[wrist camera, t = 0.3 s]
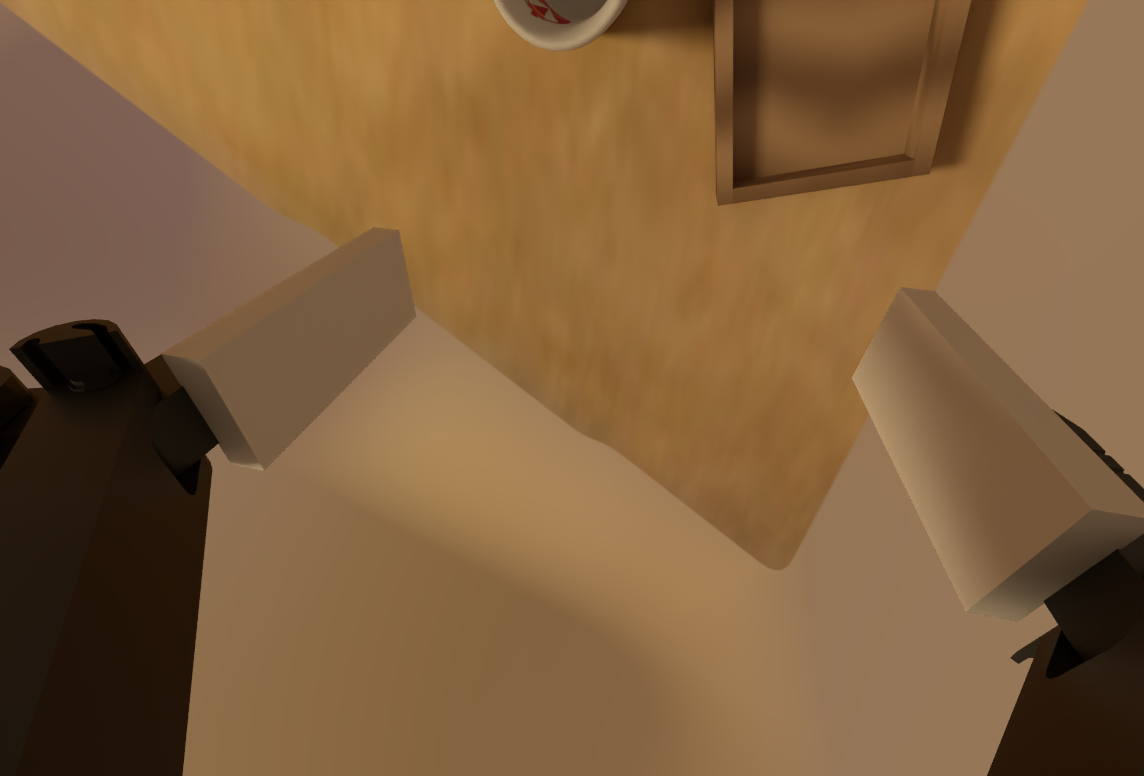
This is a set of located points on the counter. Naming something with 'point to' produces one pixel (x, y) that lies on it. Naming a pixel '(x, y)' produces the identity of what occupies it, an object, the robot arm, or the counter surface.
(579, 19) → the cup
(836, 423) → the counter surface
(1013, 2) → the counter surface
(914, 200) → the counter surface
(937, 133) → the tray
